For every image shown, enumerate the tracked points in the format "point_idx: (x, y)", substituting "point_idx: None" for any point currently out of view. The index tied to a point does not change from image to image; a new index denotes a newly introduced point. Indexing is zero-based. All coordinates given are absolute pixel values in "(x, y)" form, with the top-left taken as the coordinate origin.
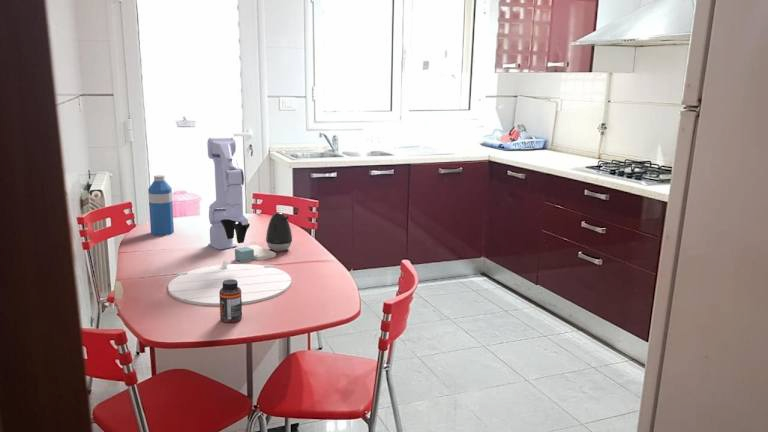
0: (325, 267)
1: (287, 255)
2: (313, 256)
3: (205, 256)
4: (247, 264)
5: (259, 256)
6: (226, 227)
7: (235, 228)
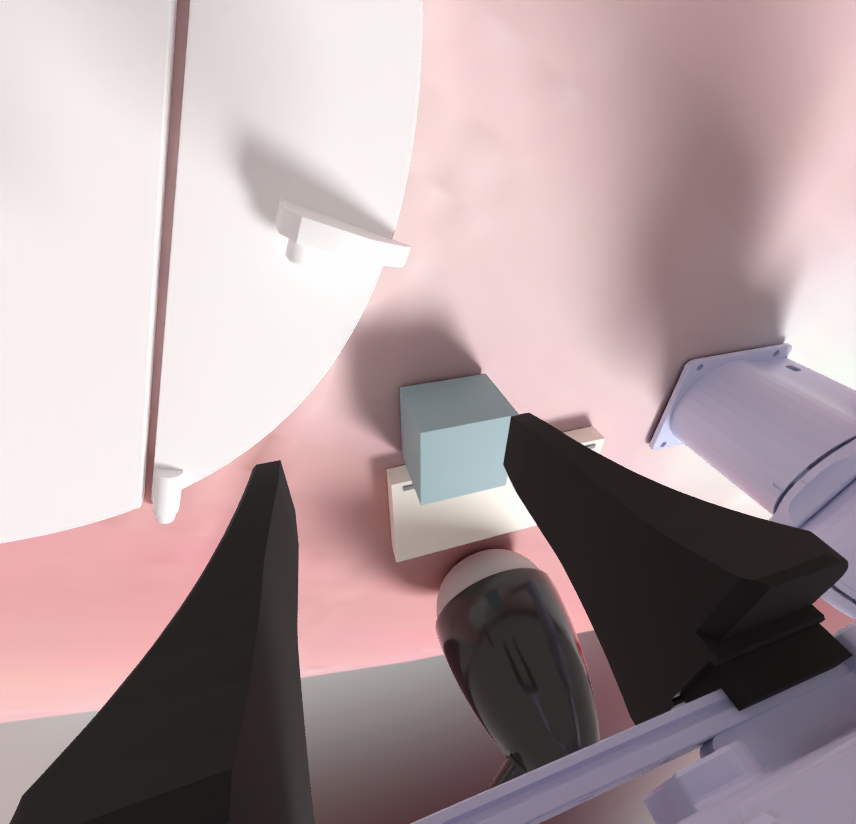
0: (84, 681)
1: (378, 582)
2: (300, 650)
3: (677, 238)
4: (296, 396)
5: (391, 494)
6: (619, 517)
7: (176, 705)
